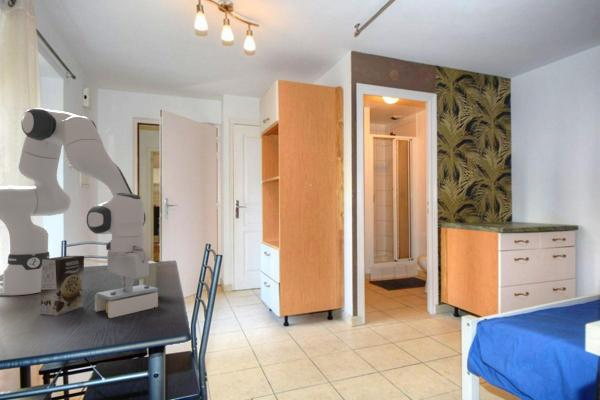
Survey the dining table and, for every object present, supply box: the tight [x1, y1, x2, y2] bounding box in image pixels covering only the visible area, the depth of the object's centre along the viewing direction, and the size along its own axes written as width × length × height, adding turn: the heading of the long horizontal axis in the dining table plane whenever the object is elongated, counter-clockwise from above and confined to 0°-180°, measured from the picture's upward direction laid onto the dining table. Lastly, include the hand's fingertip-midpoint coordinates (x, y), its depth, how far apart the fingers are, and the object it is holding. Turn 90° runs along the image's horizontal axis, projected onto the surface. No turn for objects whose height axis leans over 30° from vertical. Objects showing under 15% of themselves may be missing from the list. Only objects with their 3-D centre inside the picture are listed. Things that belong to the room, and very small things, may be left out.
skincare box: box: [138, 260, 158, 292], centre depth 116 cm, size 6×4×12 cm
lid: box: [95, 284, 159, 300], centre depth 102 cm, size 10×14×1 cm
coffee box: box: [39, 255, 85, 316], centre depth 100 cm, size 9×6×16 cm
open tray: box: [94, 291, 159, 319], centre depth 102 cm, size 11×14×4 cm
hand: (127, 290), depth 102 cm, fingers closed, pressing on lid
